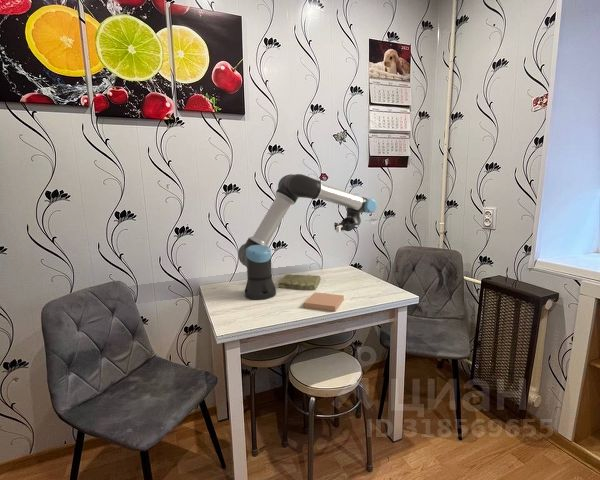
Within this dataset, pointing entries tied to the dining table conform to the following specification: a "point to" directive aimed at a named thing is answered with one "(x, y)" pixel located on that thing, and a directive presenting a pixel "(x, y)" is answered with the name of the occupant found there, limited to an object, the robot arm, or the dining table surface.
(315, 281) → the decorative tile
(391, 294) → the dining table surface
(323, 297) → the standing tile
